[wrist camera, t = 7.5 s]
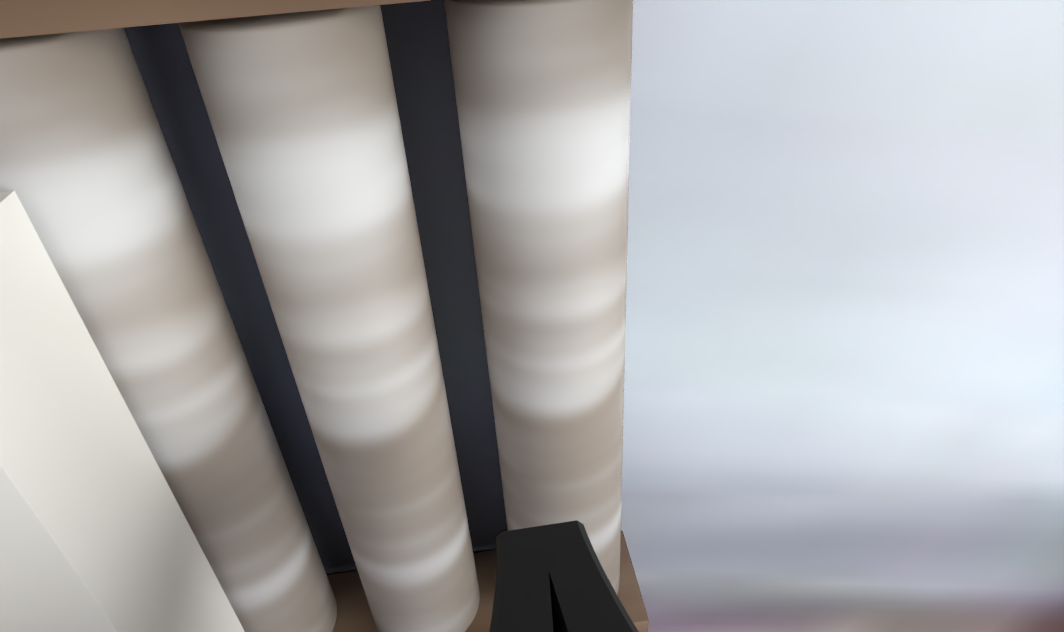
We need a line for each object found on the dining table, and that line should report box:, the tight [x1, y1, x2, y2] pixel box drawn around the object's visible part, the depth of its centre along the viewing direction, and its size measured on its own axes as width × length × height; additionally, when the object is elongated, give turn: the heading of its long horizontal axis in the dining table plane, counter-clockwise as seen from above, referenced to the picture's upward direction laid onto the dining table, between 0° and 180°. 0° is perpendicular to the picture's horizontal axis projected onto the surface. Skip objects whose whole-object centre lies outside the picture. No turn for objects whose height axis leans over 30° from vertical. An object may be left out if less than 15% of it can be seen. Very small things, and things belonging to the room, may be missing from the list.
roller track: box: [0, 0, 649, 632], centre depth 15 cm, size 18×24×3 cm
